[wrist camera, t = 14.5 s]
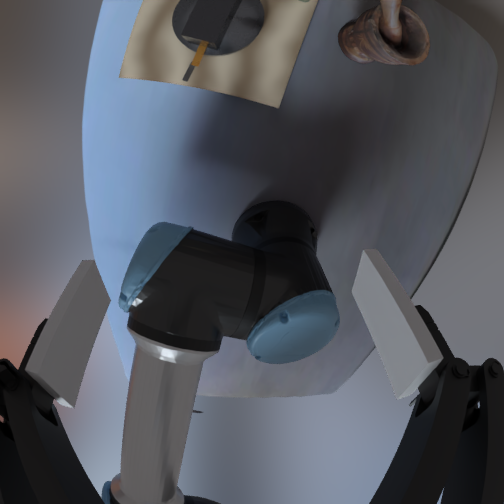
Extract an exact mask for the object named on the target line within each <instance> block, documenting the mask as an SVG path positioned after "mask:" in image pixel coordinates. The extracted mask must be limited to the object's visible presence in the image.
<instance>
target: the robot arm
mask: <svg viewBox="0 0 504 504" xmlns="http://www.w3.org/2000/svg"><path fill="white" fill-rule="evenodd" d="M316 252H317V233H316V229H315V227H314V224H313V223H312V221H311V219H310V217H309V216H308V215H307V213H306V212H305V211H304V210H302V209H301V208H300V207H298V206H296V205H294V204H292V203H288V202H284V201H269V202H264V203H261V204H258V205H256V206H254V207H252V208H250V209H249V210H247V211H246V212H245V213H244V214H243V215H242V216H241V217H240V218H239V219H238V221H237V223H236V224H235V227H234V229H233V233H232V241H230V240H227V239H223V238H220V237H217V236H214V235H210V234H207V233H204V232H201V231H197V230H194V229H193V227H184V226H180V225H176V224H171V223H167V222H160V223H157V224H155V225H153V226H152V227H151V228H150V229H149V230H148V231H147V232H146V234H145V235H144V237H143V238H142V240H141V242H140V243H139V245H138V247H137V249H136V251H135V253H134V255H133V257H132V259H131V262H130V264H129V267H128V269H127V272H126V274H125V277H124V280H123V283H122V287H121V293H120V297H119V307H120V308H121V309H123V310H124V312H127V313H128V312H129V319H128V324H127V329H128V331H129V333H130V334H131V336H132V337H133V339H134V340H135V343H136V346H135V352H134V357H133V363H132V369H131V375H130V381H129V389H128V395H127V403H126V411H125V420H124V429H123V440H122V454H121V473H119V474H118V475H116V476H115V477H114V478H113V479H112V481H107V482H105V484H104V486H103V489H102V499H101V497H100V496H99V494H98V492H97V491H96V489H95V488H94V486H93V484H92V483H91V481H90V479H89V478H88V476H87V474H86V472H85V471H84V469H83V467H82V465H81V463H80V461H79V459H78V457H77V455H76V453H75V451H74V449H73V447H72V445H71V443H70V441H69V439H68V436H67V434H66V432H65V429H64V427H63V425H62V422H61V420H60V417H59V415H58V412H57V409H56V407H55V406H54V404H53V400H54V399H55V400H56V401H57V402H58V403H60V404H61V405H64V406H67V407H71V408H74V407H75V404H76V400H77V396H78V393H79V389H80V386H81V382H82V379H83V376H84V372H85V369H86V366H87V363H88V360H89V357H90V354H91V351H92V348H93V345H94V343H95V340H96V337H97V334H98V331H99V329H100V326H101V324H102V321H103V319H104V316H105V313H106V311H107V309H108V306H109V304H110V301H111V300H110V297H109V295H108V293H107V291H106V288H105V286H104V283H103V281H102V278H101V276H100V273H99V271H98V268H97V266H96V263H95V260H82V262H81V263H80V265H79V266H78V268H77V270H76V271H75V273H74V274H73V276H72V278H71V279H70V281H69V283H68V284H67V286H66V288H65V289H64V291H63V293H62V295H61V296H60V298H59V300H58V302H57V304H56V306H55V307H54V309H53V311H52V313H51V315H50V317H49V318H48V319H44V321H43V322H42V323H41V324H40V325H39V326H38V328H37V330H36V332H35V334H34V337H33V338H32V340H31V344H30V345H29V346H28V349H27V351H26V353H25V355H24V358H23V360H22V362H21V365H20V367H19V369H18V370H17V369H16V368H15V367H14V365H13V364H12V363H11V362H10V361H9V360H8V359H4V358H3V359H0V415H1V416H2V417H3V418H4V421H3V423H2V422H1V421H0V504H220V503H218V502H215V501H212V500H209V499H206V498H202V497H195V496H185V495H183V493H182V491H181V490H180V489H179V487H178V486H177V483H178V478H179V473H180V468H181V463H182V458H183V453H184V448H185V444H186V438H187V434H188V429H189V424H190V420H191V415H192V411H193V406H194V402H195V397H196V393H197V388H198V384H199V380H200V375H201V371H202V367H203V362H204V361H205V360H206V359H208V358H209V357H211V356H213V355H215V354H216V353H218V352H219V349H220V345H221V341H222V338H223V336H226V337H232V338H237V339H242V340H246V341H247V347H248V349H249V351H250V353H251V355H253V356H255V358H256V359H257V360H259V361H261V362H265V363H270V364H283V363H290V362H294V361H298V360H301V359H303V358H305V357H308V356H310V355H312V354H314V353H316V352H318V351H319V350H321V349H322V348H323V347H324V346H326V345H327V344H328V343H329V342H330V341H331V340H332V338H333V337H334V336H335V334H336V332H337V330H338V327H339V323H340V316H339V312H338V309H337V305H336V298H335V295H334V294H333V292H332V290H331V288H330V285H329V283H328V281H327V278H326V276H325V274H324V272H323V269H322V267H321V265H320V263H319V261H318V258H317V256H316ZM352 294H353V296H354V298H355V300H356V303H357V305H358V307H359V309H360V311H361V314H362V316H363V318H364V320H365V322H366V325H367V327H368V329H369V332H370V334H371V336H372V339H373V341H374V343H375V346H376V348H377V350H378V353H379V355H380V358H381V360H382V363H383V365H384V367H385V370H386V373H387V375H388V378H389V380H390V383H391V386H392V389H393V391H394V394H395V397H396V399H400V398H403V397H406V396H409V395H411V394H412V393H413V392H414V391H415V390H416V389H417V388H418V390H419V392H420V394H419V395H418V396H417V397H416V398H415V399H414V400H413V401H412V402H411V403H410V405H409V406H412V405H413V404H414V403H415V406H414V409H413V411H412V414H411V417H410V420H409V423H408V425H407V428H406V430H405V433H404V436H403V438H402V440H401V443H400V445H399V447H398V449H397V452H396V454H395V456H394V458H393V460H392V462H391V464H390V467H389V469H388V471H387V473H386V474H385V477H384V478H383V480H382V482H381V484H380V486H379V488H378V489H377V491H376V493H375V495H374V496H373V498H372V500H371V502H370V503H369V504H437V502H438V500H439V497H440V495H441V493H442V490H443V488H444V490H443V495H442V499H441V504H504V370H503V367H502V365H501V364H500V363H499V362H498V361H497V360H496V359H494V358H489V359H487V360H486V361H485V362H484V363H483V364H482V365H481V366H469V365H468V364H467V363H466V361H464V360H462V359H461V358H455V357H454V355H453V354H452V352H451V350H450V348H449V346H448V345H447V343H446V341H445V339H444V338H443V336H442V334H441V333H440V331H439V330H438V327H437V325H436V324H435V323H434V320H433V319H432V317H431V316H430V314H429V312H428V311H426V310H425V309H424V308H423V307H422V306H421V305H417V306H414V305H413V303H412V301H411V300H410V298H409V296H408V295H407V293H406V292H405V290H404V289H403V287H402V286H401V284H400V282H399V281H398V279H397V278H396V276H395V275H394V273H393V272H392V270H391V269H390V267H389V266H388V265H387V263H386V262H385V260H384V259H383V257H382V256H381V255H380V253H379V252H378V250H377V249H367V250H363V253H362V257H361V261H360V264H359V268H358V271H357V275H356V278H355V282H354V285H353V288H352ZM479 401H480V408H478V402H479Z"/></svg>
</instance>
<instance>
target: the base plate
mask: <svg viewBox="0 0 504 504" xmlns="http://www.w3.org/2000/svg"><path fill="white" fill-rule="evenodd" d="M179 1H180V0H143V2H142V5H141V7H140V10H139V12H138V15H137V18H136V21H135V23H134V26H133V29H132V32H131V35H130V38H129V42H128V45H127V48H126V52H125V55H124V59H123V63H122V67H121V71H120V75H119V78H131V79H142V80H151V81H159V82H166V83H173V84H179V85H185V86H190V87H196V88H201V89H206V90H211V91H215V92H220V93H224V94H228V95H232V96H236V97H240V98H244V99H248V100H251V101H255V102H258V103H262V104H265V105H269V106H272V107H275V108H278V109H279V106H280V103H281V100H282V97H283V95H284V92H285V89H286V86H287V83H288V80H289V78H290V75H291V72H292V69H293V66H294V64H295V61H296V58H297V55H298V53H299V50H300V47H301V44H302V42H303V39H304V36H305V34H306V31H307V28H308V25H309V23H310V20H311V18H312V15H313V12H314V10H315V7H316V4H317V2H318V0H260V1H261V3H262V5H263V9H264V23H263V26H262V29H261V31H260V33H259V34H258V36H257V37H256V39H255V40H254V41H253V42H252V43H251V44H250V45H249V46H247V47H246V48H244V49H242V50H241V51H238V52H236V53H233V54H230V55H226V56H206V55H203V57H202V60H201V62H200V65H199V67H197V66H193V65H191V63H192V61H193V59H194V56H195V54H196V52H194V51H192V50H190V49H189V48H187V47H186V46H185V45H184V44H182V43H181V42H180V41H179V39H178V38H177V37H176V35H175V33H174V30H173V26H172V16H173V12H174V10H175V7H176V5H177V4H178V2H179Z"/></svg>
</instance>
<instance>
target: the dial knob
mask: <svg viewBox="0 0 504 504" xmlns="http://www.w3.org/2000/svg"><path fill="white" fill-rule="evenodd" d="M263 23H264V9H263V5H262V3H261V1H260V0H180V1H179V2H178V4H177V5H176V7H175V10H174V12H173V16H172V26H173V30H174V33H175V35H176V37H177V38H178V39H179V41H180V42H181V43H182V44H184V45H185V46H186V47H187V48H189V49H190V50H192V51H194V52H196V54H195V56H194V59H193V61H192V63H191V65H193V66H197V67H199V65H200V62H201V60H202V57H203V55H206V56H226V55H230V54H233V53H236V52H238V51H241V50H242V49H244V48H246V47H247V46H249V45H250V44H251V43H252V42H253V41H254V40H255V39H256V37H257V36H258V34H259V33H260V31H261V29H262V26H263Z"/></svg>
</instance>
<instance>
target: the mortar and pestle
mask: <svg viewBox="0 0 504 504" xmlns="http://www.w3.org/2000/svg"><path fill="white" fill-rule="evenodd" d="M380 3H381V4H380V5H378V6H376V7H374V8H372V9H370V10H367V11H366V12H364V13H363V14H362V15H361V16H360V17H359V18H358V19H357V21H356V22H350V23H348V24H346V25H345V26H344V27H342V29H341V30H340V32H339V34H338V42H339V45H340V47H341V49H342V51H343V53H344V54H345V55H346V56H347V57H348V58H350V59H351V60H353V61H356V62H358V63H362V64H366V63H370V62H373V61H378V62H381V63H385V64H392V65H416V64H419V63H421V62H422V61H424V60H425V59H426V57H427V55H428V53H429V52H428V51H429V48H430V42H429V34H428V32H427V29H426V27H425V25H424V24H423V22H422V20H421V19H420V18H419V17H418V15H417V14H415V13H414V12H413V11H412V10H411V9H409V8H407V7H406V6H404V5H401V3H402V0H380Z"/></svg>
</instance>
